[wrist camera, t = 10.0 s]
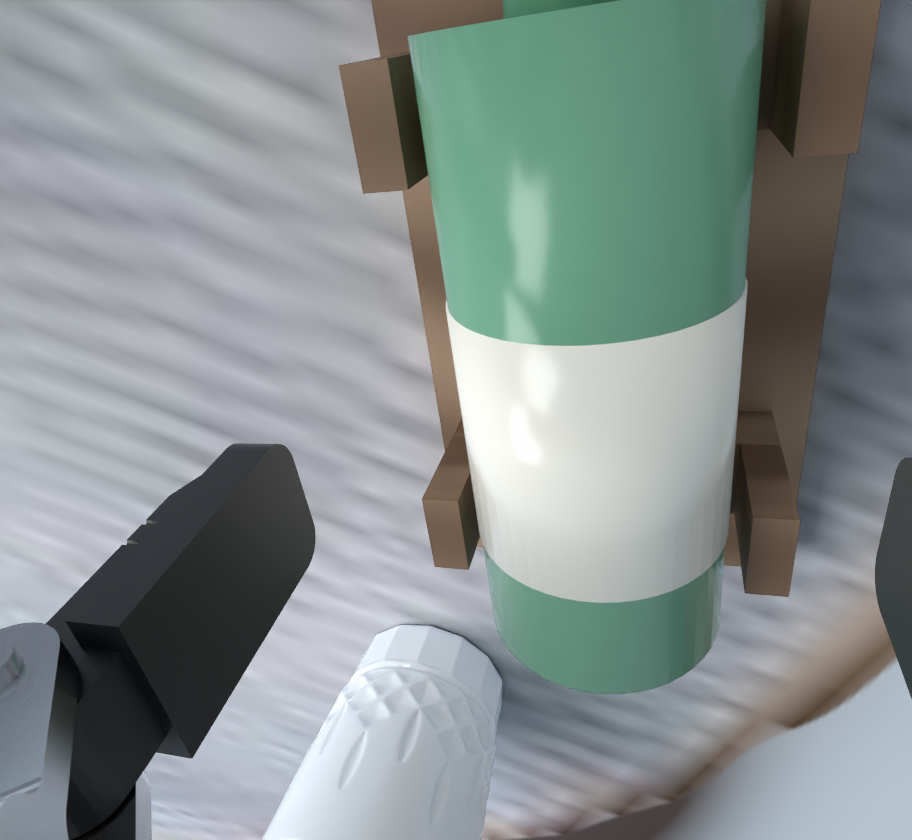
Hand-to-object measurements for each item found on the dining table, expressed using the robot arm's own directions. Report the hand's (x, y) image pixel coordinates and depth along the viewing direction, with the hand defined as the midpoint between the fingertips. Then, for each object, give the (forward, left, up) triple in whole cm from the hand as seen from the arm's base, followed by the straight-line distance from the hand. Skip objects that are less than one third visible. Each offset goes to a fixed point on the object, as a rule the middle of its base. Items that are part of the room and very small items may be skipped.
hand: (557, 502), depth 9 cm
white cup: (+20, -9, -13) cm, 25 cm away
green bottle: (-2, -1, -9) cm, 9 cm away
